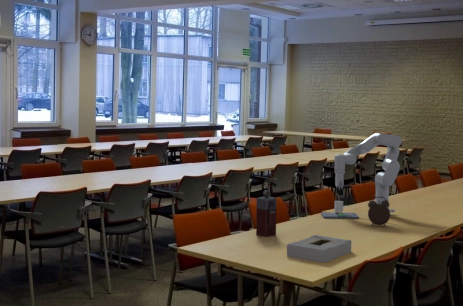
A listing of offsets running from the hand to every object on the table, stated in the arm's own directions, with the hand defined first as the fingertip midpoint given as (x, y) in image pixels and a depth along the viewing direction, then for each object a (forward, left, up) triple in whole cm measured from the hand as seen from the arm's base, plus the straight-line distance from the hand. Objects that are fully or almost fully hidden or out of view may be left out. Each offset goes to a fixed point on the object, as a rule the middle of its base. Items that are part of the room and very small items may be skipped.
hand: (339, 194), depth 454 cm
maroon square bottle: (+56, +72, -16) cm, 92 cm away
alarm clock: (-20, +38, -16) cm, 46 cm away
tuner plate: (+1, +5, -16) cm, 16 cm away
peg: (+1, +4, -14) cm, 14 cm away
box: (+29, +119, -16) cm, 123 cm away
